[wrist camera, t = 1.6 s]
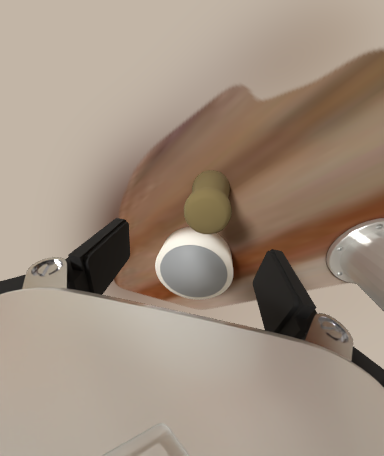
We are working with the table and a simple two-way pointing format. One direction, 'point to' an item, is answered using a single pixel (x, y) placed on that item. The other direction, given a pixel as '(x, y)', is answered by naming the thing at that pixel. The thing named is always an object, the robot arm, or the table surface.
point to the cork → (208, 203)
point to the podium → (195, 264)
